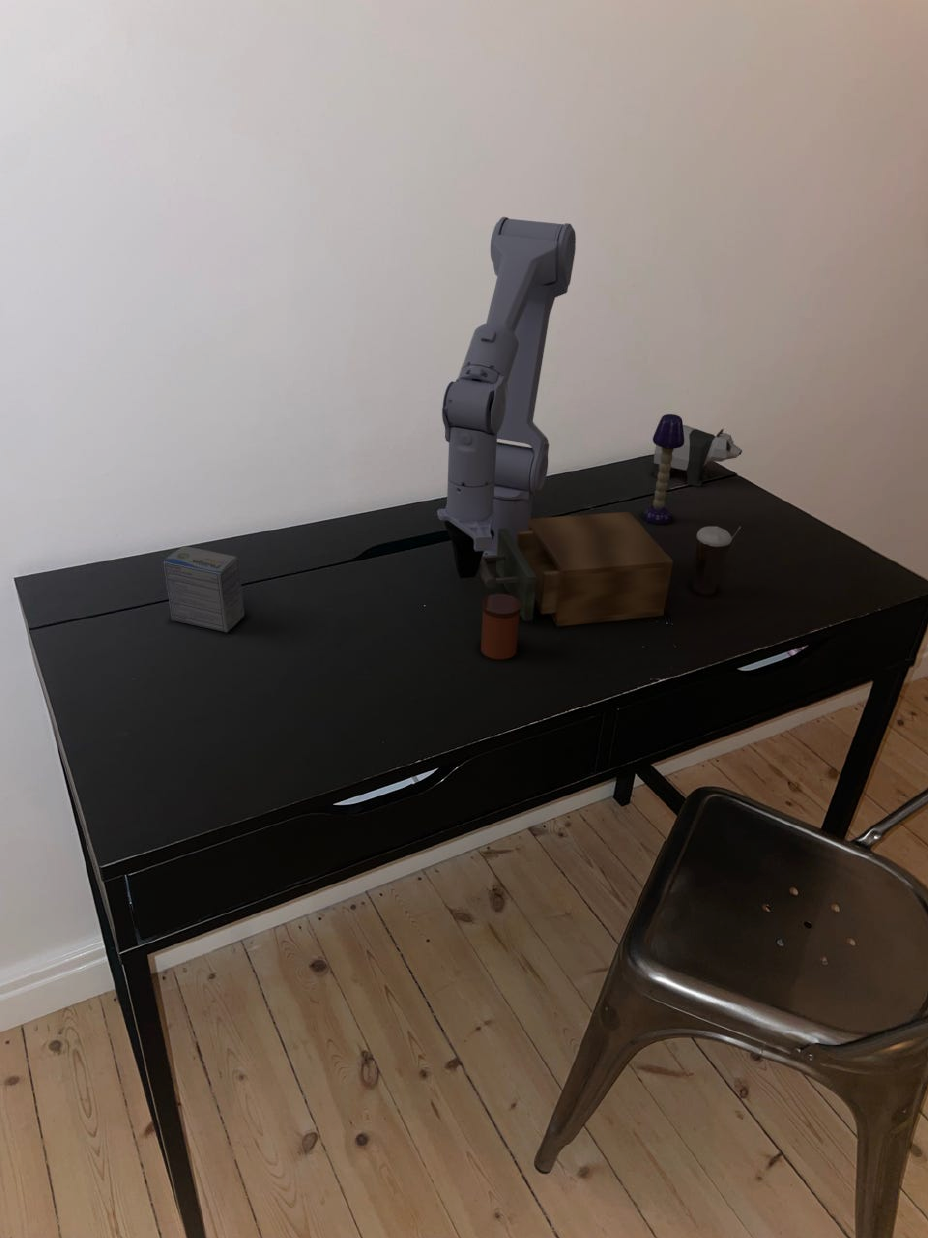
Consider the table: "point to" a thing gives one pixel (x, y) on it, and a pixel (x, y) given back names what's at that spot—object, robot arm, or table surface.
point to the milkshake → (710, 558)
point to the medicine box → (204, 588)
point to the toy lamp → (665, 464)
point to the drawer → (524, 572)
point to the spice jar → (500, 626)
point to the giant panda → (698, 453)
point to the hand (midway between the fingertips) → (466, 575)
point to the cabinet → (604, 567)
